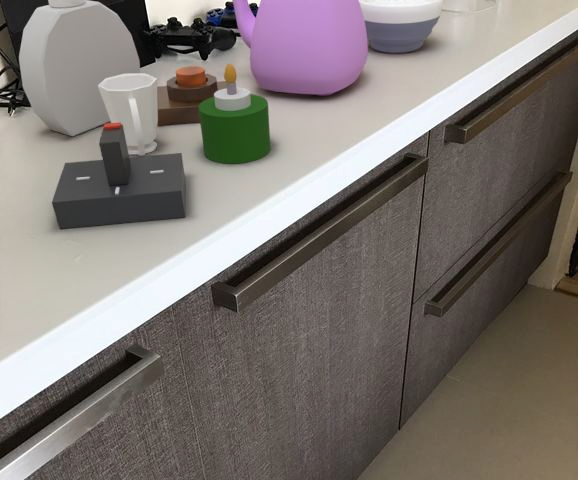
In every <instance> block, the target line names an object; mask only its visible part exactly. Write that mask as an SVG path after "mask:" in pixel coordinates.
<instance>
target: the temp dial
mask: <svg viewBox="0 0 578 480" xmlns="http://www.w3.org/2000/svg"><path fill="white" fill-rule="evenodd" d="M102 126H103V127H102V131H101V134H100V137H99V143H98V145H99V150H100V154H101V158H102V160H103V163H104V167H105V171H106V176H107V180H108V184H109V186H113V185H124V184H128V180H129V174H130V167H131V163H130V158H129V157H130V154H128V149H127V144H126V139H125V134H124V129H123V125H122V124H121V123H120V122H119V123H111V122H108V123H106V124H103V125H102Z"/></svg>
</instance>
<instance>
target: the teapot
mask: <svg viewBox="0 0 578 480" xmlns="http://www.w3.org/2000/svg"><path fill="white" fill-rule="evenodd" d="M231 1H232V4H233V9H234V15H235V20H236V25H237V29H238V32H239V35H240V37H241V39H242V41H243V43H244V44H245V45H246V46H247V47H248V49H250V50H249V51H250V52H249V53H250V54H249V55H250V56H249V64H250V71H251V74H252V76H253V78H254V80H255V81H256V83H257V84H258V86H259V87H260V88H261V89H263V90H267V91H272V92H276V93H288V94H301V95H316V96H319V97H327V96H331V95H333V94H334V93H336V92H339V91H341V90H343V89H346V88H347V87H349V86H350V85H352V84H353V83H355V82H356V81H357V80H358V78H359V76H360V75H361V73H362V72H363V69H364V68H365V65H366V63H367V60H368V56H369V55H368V54H369V53H368V52H369V50H368V49H369V48H368V47H369V45H368V39H367V33H366V26H365V21H364V17H363V13H362V9H361V6H360V3H359V0H260V2H259V5H258V8H257V12H256V16H255V15H254V13H253V12H252V10H251V7H250V4H249V1H248V0H231Z"/></svg>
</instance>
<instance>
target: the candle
mask: <svg viewBox="0 0 578 480" xmlns="http://www.w3.org/2000/svg"><path fill="white" fill-rule="evenodd" d="M223 76H224V81H226V84H227V88H225V89H221V90H219V91H217V92H215V93H214V97H211V98H209V99H206V100H204V101H203V102H201V103H200V104H199V107H198V108H199V116H200V122H199V123H200V130H201V131H200V132H201V138H202V146H203V152H204V156H205V158H207V159H208V160H209V161H212V162H216V163H220V164H234V165H235V164H246V163H250V162H254V161H257V160H261V159H262V158H264V157H266V156H267V155H268V154H269V153H270V151H271V133H270V118H269V117H270V116H269V102H268V100H267V99H266V98H265V97H263V96H261V95H257V94H253V93H251V91H250V90H249V89H248V88H245V87H237V77H238V76H237V71H236V68H235V67H234V65H233V64H232V63H228V64H227V65H226V67H225V69H224V73H223Z"/></svg>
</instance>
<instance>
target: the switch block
mask: <svg viewBox="0 0 578 480" xmlns="http://www.w3.org/2000/svg"><path fill="white" fill-rule="evenodd" d="M205 75H206V83H204V84H201V85H197V86H179V85H177V78H176V76H173V77H171V78H169V79H168V80H166V85H161V86H160V85H157V108H158V123H157V127H159V126H160V127H161V126H172V125H181V124H184V125H185V124H195V123H200V116H199V108H198V107H199V104H200V103H201V102H203V101H204V100H206V99H209V98H211V97H214V93H215V92H217V91H219V90H221V89H225V88H227V84H226V81H225V80H222V81H221V80H220V81H218V79H217V76H215V75H212V74H209V73H205Z"/></svg>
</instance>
